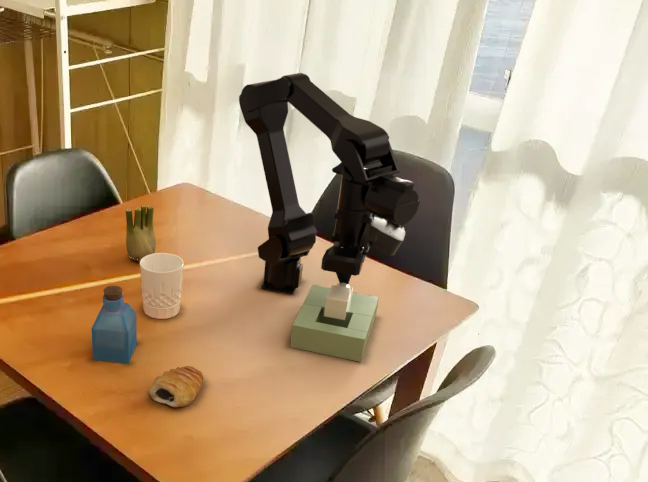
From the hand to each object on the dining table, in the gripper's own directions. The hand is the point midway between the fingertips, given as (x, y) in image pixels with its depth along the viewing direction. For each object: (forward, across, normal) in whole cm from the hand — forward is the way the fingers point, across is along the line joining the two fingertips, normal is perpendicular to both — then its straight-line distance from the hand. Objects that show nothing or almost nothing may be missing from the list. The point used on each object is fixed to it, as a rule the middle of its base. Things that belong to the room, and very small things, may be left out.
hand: (344, 286), depth 132 cm
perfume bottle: (+7, -25, +33) cm, 42 cm away
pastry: (+7, -32, +20) cm, 38 cm away
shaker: (+2, -4, 0) cm, 5 cm away
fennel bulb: (+7, +9, +43) cm, 45 cm away
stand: (+7, -5, 0) cm, 8 cm away
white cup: (+7, -9, +31) cm, 33 cm away
